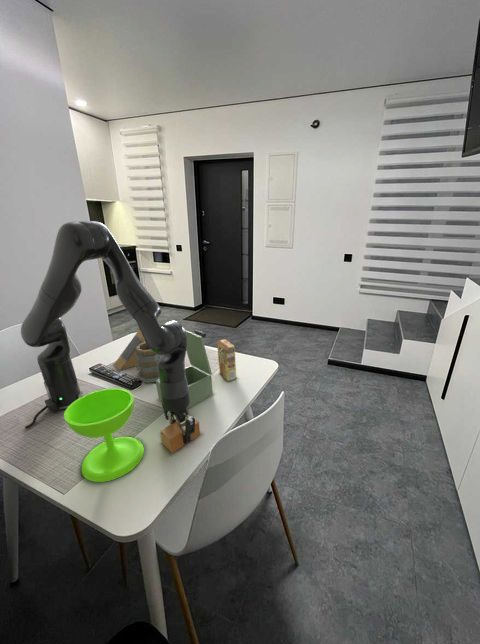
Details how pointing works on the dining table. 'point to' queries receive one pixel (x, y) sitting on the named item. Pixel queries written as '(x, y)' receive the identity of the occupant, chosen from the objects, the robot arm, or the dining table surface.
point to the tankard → (147, 363)
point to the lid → (197, 351)
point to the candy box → (226, 359)
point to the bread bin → (194, 385)
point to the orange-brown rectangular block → (176, 435)
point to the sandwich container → (130, 353)
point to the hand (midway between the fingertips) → (181, 437)
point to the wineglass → (105, 433)
